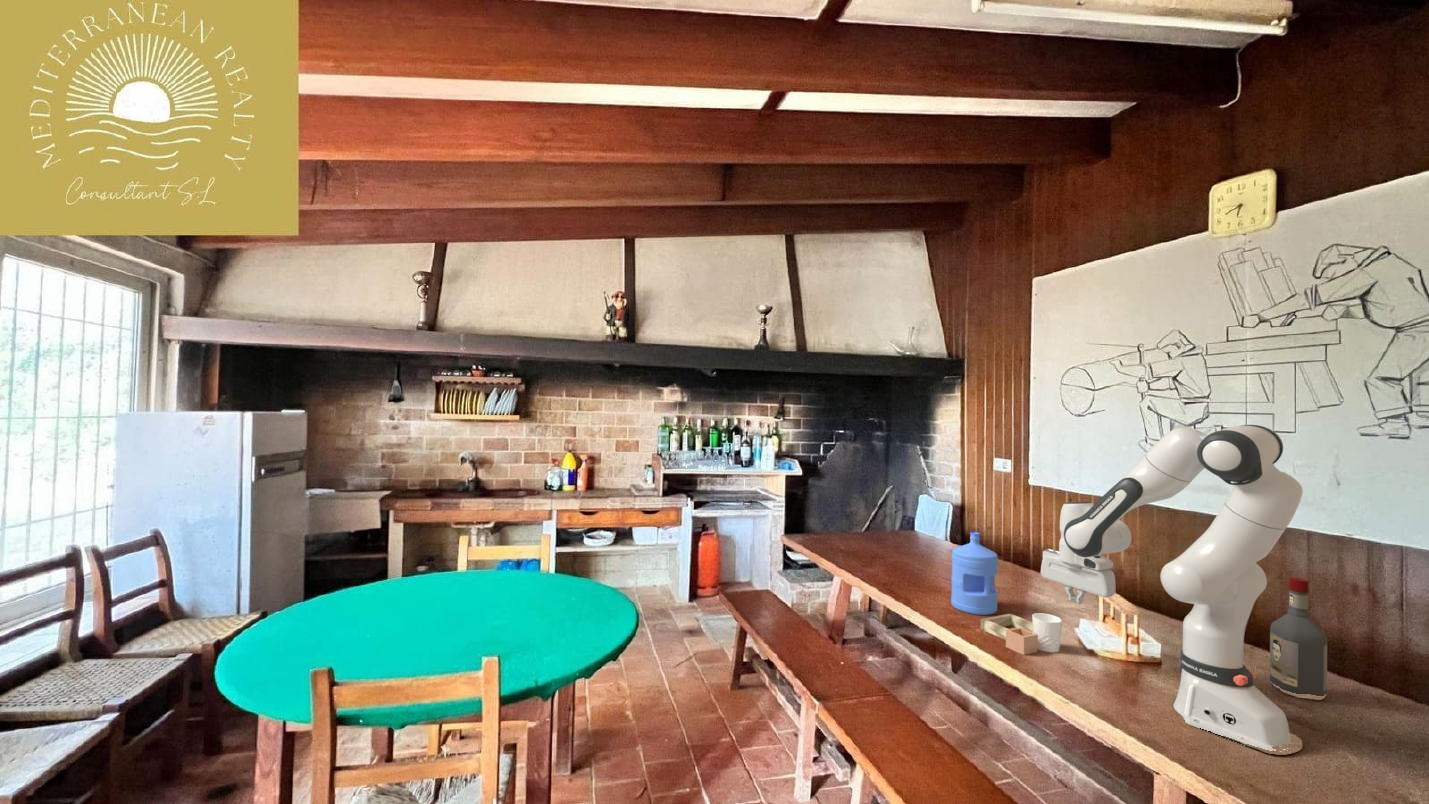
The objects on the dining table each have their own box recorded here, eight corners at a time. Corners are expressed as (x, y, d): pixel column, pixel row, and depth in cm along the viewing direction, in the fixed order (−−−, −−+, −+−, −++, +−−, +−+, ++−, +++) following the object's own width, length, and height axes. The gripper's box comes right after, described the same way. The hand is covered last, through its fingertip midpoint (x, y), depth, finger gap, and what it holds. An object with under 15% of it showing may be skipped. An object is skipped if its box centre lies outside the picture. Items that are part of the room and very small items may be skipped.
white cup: (1053, 645, 176) (1053, 613, 176) (1066, 656, 169) (1067, 623, 169) (1027, 644, 177) (1027, 612, 177) (1039, 655, 169) (1039, 621, 169)
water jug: (941, 602, 214) (942, 529, 214) (975, 599, 218) (976, 527, 218) (972, 617, 199) (973, 538, 199) (1007, 613, 203) (1008, 536, 204)
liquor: (1306, 686, 152) (1307, 576, 153) (1332, 703, 144) (1333, 586, 144) (1264, 681, 155) (1265, 572, 155) (1288, 697, 146) (1289, 582, 146)
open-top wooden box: (1037, 654, 170) (1037, 634, 170) (1023, 657, 167) (1023, 637, 167) (1019, 646, 175) (1019, 627, 175) (1005, 649, 173) (1005, 629, 173)
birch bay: (1044, 639, 181) (1045, 627, 181) (1014, 646, 175) (1014, 633, 175) (1009, 625, 192) (1010, 613, 192) (980, 631, 187) (980, 619, 187)
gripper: (1036, 547, 173) (1035, 592, 173) (1105, 566, 154) (1104, 616, 154) (1050, 545, 176) (1049, 589, 176) (1119, 564, 157) (1118, 613, 157)
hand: (1075, 602), depth 165 cm, fingers closed
